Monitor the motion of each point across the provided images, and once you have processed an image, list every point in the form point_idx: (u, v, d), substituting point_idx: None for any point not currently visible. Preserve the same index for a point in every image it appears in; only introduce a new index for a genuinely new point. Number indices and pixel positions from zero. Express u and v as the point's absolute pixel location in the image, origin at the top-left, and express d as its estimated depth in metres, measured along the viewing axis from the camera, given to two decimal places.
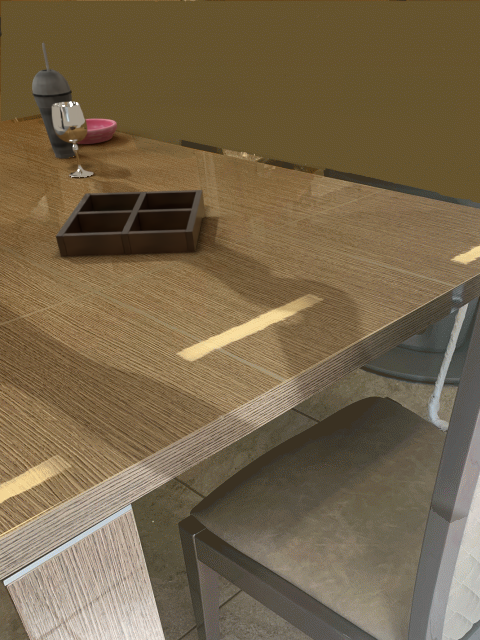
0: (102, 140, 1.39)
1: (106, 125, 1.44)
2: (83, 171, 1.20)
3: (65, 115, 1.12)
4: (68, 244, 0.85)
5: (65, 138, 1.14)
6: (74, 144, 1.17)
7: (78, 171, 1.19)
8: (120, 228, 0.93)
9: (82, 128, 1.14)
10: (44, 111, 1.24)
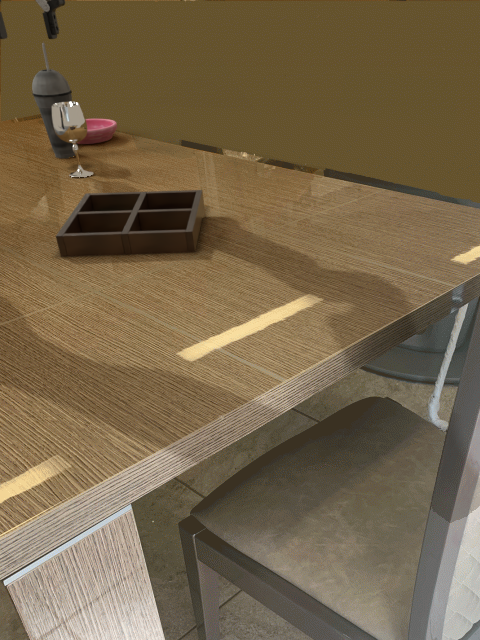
0: (102, 140, 1.39)
1: (106, 125, 1.44)
2: (83, 171, 1.20)
3: (65, 115, 1.12)
4: (68, 244, 0.85)
5: (65, 138, 1.14)
6: (74, 144, 1.17)
7: (78, 171, 1.19)
8: (120, 228, 0.93)
9: (82, 128, 1.14)
10: (44, 111, 1.24)
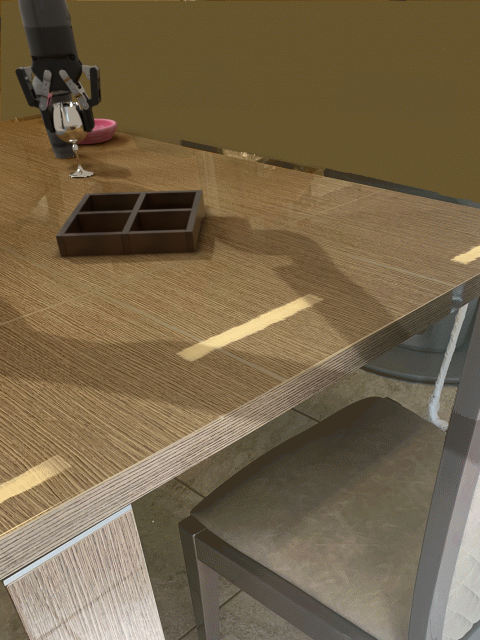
0: (102, 140, 1.39)
1: (106, 125, 1.44)
2: (83, 171, 1.20)
3: (65, 115, 1.12)
4: (68, 244, 0.85)
5: (65, 138, 1.14)
6: (74, 144, 1.17)
7: (78, 171, 1.19)
8: (120, 228, 0.93)
9: (82, 128, 1.14)
10: None
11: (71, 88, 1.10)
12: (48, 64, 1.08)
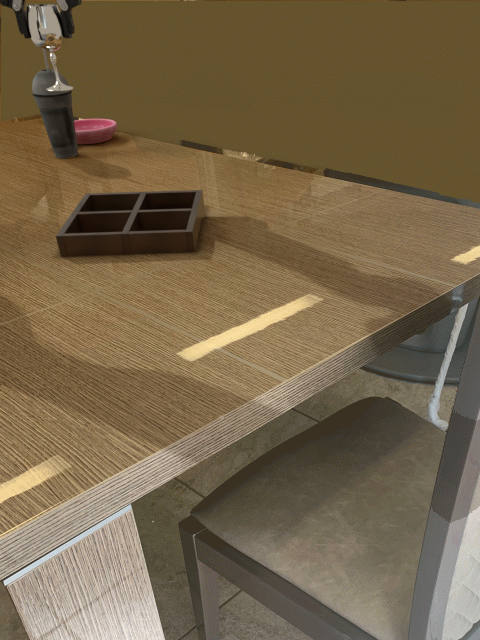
0: (102, 140, 1.39)
1: (106, 125, 1.44)
2: (62, 85, 1.09)
3: (42, 16, 1.01)
4: (68, 244, 0.85)
5: (41, 43, 1.04)
6: (52, 53, 1.06)
7: (56, 84, 1.09)
8: (120, 228, 0.93)
9: (60, 32, 1.04)
10: (44, 111, 1.24)
11: None
12: None
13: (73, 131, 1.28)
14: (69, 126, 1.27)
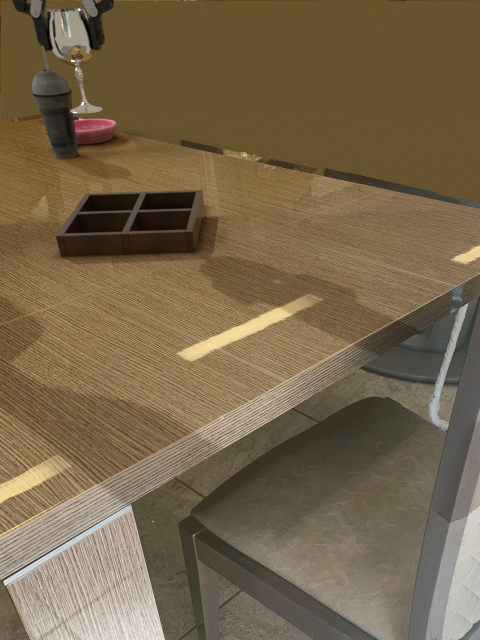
0: (102, 140, 1.39)
1: (106, 125, 1.44)
2: (89, 105, 0.90)
3: (66, 23, 0.83)
4: (68, 244, 0.85)
5: (65, 56, 0.85)
6: (77, 67, 0.88)
7: (82, 105, 0.90)
8: (120, 228, 0.93)
9: (88, 43, 0.85)
10: (44, 111, 1.24)
11: None
12: None
13: (73, 131, 1.28)
14: (69, 126, 1.27)
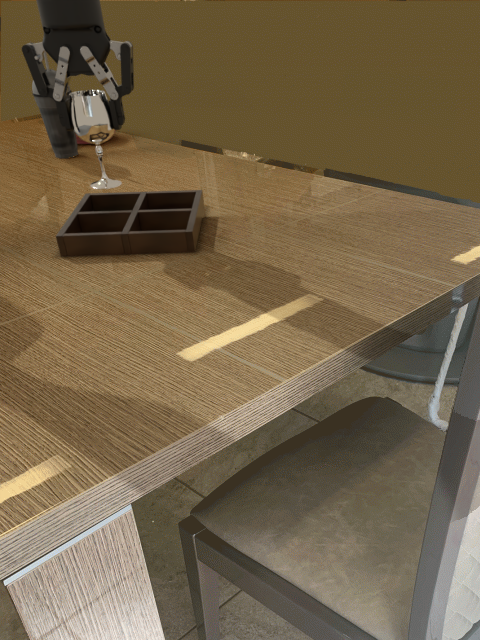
0: None
1: None
2: (109, 180, 0.93)
3: (88, 107, 0.85)
4: (68, 244, 0.85)
5: (86, 137, 0.87)
6: (98, 145, 0.90)
7: (102, 180, 0.92)
8: (120, 228, 0.93)
9: (109, 124, 0.87)
10: (44, 111, 1.24)
11: (95, 71, 0.83)
12: (65, 39, 0.81)
13: (73, 131, 1.28)
14: None
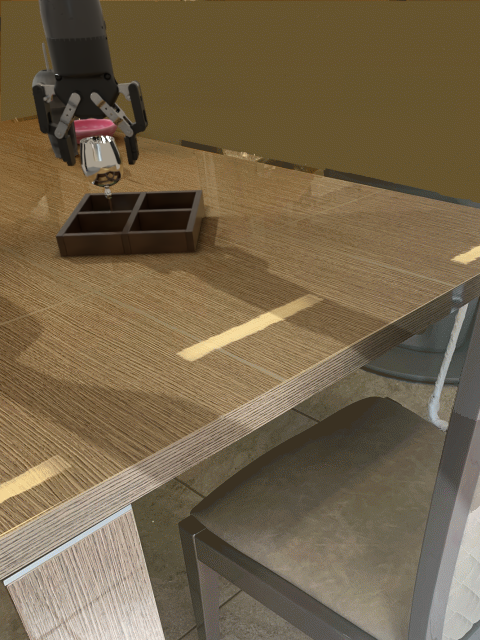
0: None
1: (106, 125, 1.44)
2: None
3: (97, 154, 0.88)
4: (68, 244, 0.85)
5: (96, 182, 0.91)
6: (107, 188, 0.93)
7: None
8: (120, 228, 0.93)
9: (118, 169, 0.91)
10: None
11: (108, 114, 0.86)
12: (76, 85, 0.85)
13: (73, 131, 1.28)
14: None
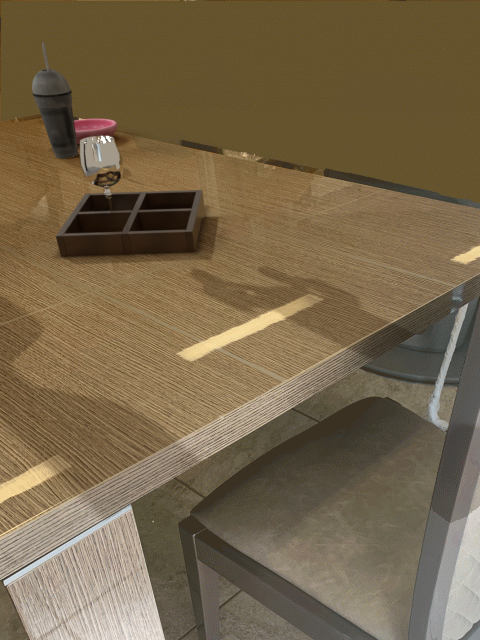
0: None
1: (106, 125, 1.44)
2: None
3: (97, 154, 0.88)
4: (68, 244, 0.85)
5: (96, 182, 0.91)
6: (107, 188, 0.93)
7: None
8: (120, 228, 0.93)
9: (118, 169, 0.91)
10: (44, 111, 1.24)
11: None
12: None
13: (73, 131, 1.28)
14: (69, 126, 1.27)
